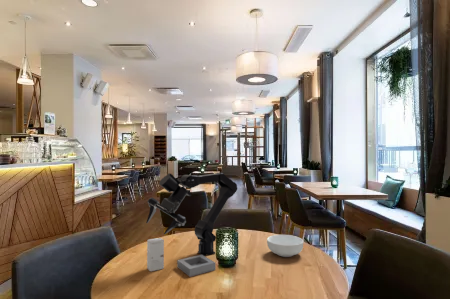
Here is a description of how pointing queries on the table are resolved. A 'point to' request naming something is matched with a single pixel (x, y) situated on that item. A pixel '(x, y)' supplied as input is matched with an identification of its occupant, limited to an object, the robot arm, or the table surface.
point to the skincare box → (155, 254)
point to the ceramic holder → (196, 265)
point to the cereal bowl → (285, 245)
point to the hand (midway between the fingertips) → (155, 228)
